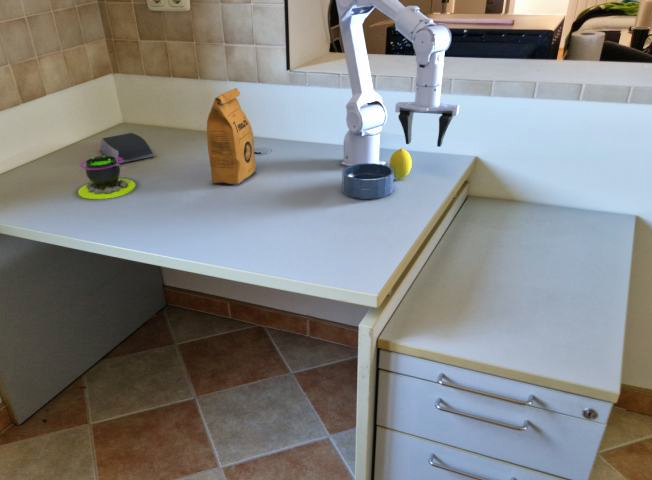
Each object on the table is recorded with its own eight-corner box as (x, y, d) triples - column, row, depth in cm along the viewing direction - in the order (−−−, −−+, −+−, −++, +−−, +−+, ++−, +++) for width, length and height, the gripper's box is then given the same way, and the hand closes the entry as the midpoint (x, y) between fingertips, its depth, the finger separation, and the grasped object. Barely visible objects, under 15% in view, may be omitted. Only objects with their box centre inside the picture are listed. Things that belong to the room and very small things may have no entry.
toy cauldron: (146, 182, 162) (139, 141, 156) (111, 202, 151) (102, 158, 145) (102, 177, 167) (93, 137, 161) (66, 195, 156) (54, 153, 150)
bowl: (332, 192, 148) (331, 172, 145) (365, 179, 155) (365, 159, 152) (370, 204, 140) (371, 183, 138) (403, 189, 147) (404, 169, 144)
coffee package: (262, 173, 163) (256, 87, 150) (239, 188, 154) (230, 98, 141) (231, 169, 167) (222, 85, 154) (206, 184, 158) (195, 96, 146)
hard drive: (114, 166, 175) (111, 152, 173) (97, 150, 190) (94, 137, 187) (156, 157, 180) (154, 143, 178) (137, 142, 194) (135, 130, 192)
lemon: (412, 176, 154) (414, 145, 150) (408, 184, 150) (410, 152, 146) (390, 175, 156) (392, 144, 151) (386, 182, 152) (388, 151, 147)
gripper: (392, 86, 137) (389, 146, 145) (456, 89, 132) (450, 151, 139) (401, 80, 142) (398, 138, 150) (463, 82, 137) (456, 142, 144)
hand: (423, 144), depth 145 cm, fingers open, 7 cm apart
